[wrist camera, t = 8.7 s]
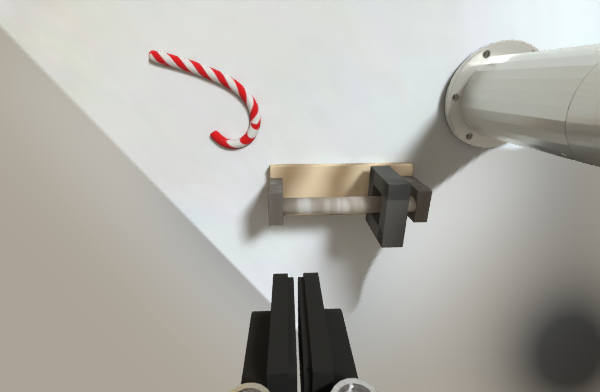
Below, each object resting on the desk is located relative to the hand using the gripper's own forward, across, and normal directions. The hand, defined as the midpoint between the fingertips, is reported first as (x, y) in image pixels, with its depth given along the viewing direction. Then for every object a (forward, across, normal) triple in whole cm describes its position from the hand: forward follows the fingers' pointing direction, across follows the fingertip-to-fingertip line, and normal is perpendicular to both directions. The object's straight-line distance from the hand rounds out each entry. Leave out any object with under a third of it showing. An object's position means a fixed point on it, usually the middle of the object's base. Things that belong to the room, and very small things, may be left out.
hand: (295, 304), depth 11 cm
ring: (+27, -12, +6) cm, 30 cm away
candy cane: (+30, +10, -6) cm, 32 cm away
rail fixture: (+29, -7, +6) cm, 31 cm away
